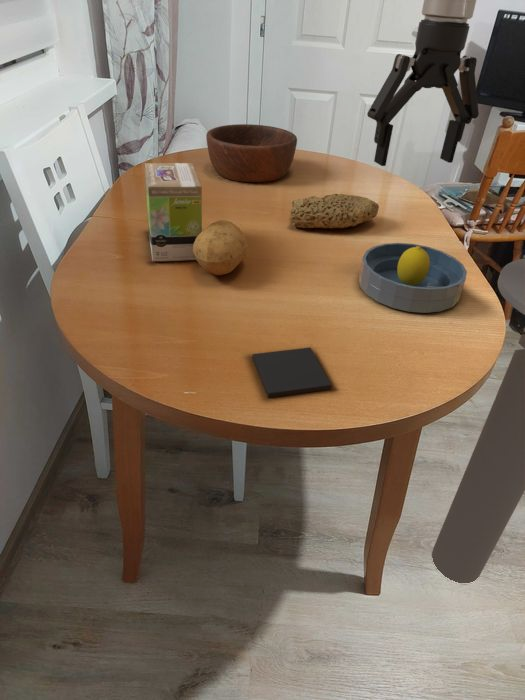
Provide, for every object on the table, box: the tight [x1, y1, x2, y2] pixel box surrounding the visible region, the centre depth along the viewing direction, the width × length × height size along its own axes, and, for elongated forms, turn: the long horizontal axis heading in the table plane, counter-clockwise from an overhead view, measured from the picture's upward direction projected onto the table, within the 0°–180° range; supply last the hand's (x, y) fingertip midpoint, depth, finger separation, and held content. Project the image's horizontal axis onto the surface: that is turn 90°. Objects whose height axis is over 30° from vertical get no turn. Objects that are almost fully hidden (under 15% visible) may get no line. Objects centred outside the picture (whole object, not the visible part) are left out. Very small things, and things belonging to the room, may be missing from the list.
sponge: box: [289, 193, 380, 229], centre depth 117 cm, size 13×8×20 cm
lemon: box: [397, 246, 430, 286], centre depth 93 cm, size 6×6×8 cm
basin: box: [358, 242, 468, 314], centre depth 94 cm, size 18×18×5 cm
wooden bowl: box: [205, 123, 298, 183], centre depth 145 cm, size 25×25×10 cm
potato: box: [193, 219, 248, 276], centre depth 96 cm, size 10×14×8 cm
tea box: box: [144, 162, 203, 262], centre depth 102 cm, size 15×10×15 cm, turn 12°
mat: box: [251, 347, 333, 399], centre depth 73 cm, size 9×9×1 cm
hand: (413, 162), depth 91 cm, fingers open, 13 cm apart
